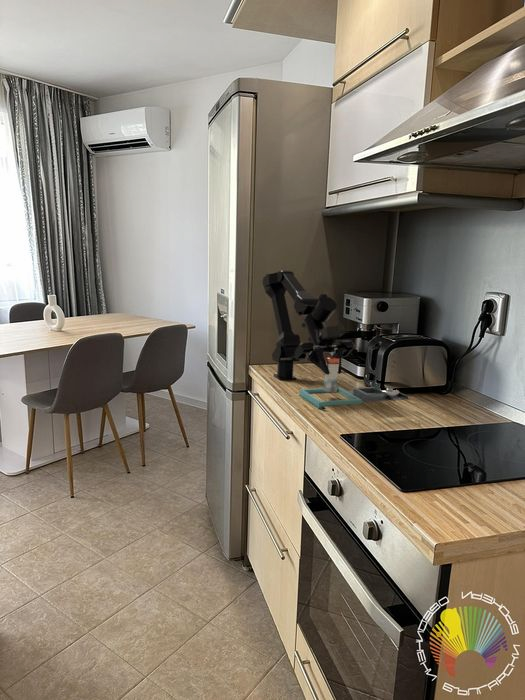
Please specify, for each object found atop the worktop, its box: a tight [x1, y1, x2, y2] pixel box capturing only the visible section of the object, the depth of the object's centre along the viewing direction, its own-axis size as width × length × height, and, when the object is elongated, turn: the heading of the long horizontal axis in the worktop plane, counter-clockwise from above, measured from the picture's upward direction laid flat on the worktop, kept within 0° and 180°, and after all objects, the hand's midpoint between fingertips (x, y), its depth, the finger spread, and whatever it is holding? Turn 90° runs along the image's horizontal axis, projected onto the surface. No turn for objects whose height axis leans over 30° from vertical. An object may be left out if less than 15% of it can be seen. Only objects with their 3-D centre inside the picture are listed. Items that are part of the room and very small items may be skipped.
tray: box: [298, 386, 363, 410], centre depth 151 cm, size 14×14×2 cm
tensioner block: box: [346, 386, 409, 403], centre depth 156 cm, size 12×16×3 cm
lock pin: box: [323, 356, 339, 393], centre depth 149 cm, size 4×4×10 cm
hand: (334, 373), depth 148 cm, fingers closed on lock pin, 4 cm apart
